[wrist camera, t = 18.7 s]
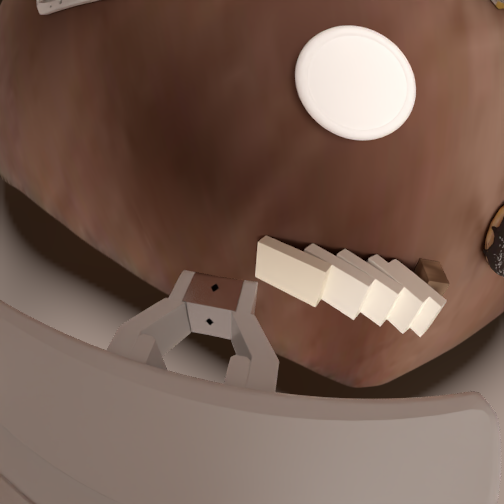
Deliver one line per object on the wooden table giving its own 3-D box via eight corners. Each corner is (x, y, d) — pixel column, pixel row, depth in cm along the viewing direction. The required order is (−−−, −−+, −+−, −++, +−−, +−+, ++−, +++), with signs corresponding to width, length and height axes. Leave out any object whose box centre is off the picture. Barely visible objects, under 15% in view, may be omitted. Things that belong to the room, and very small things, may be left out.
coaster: (422, 107, 19) (437, 112, 16) (336, 151, 24) (340, 162, 21) (364, 15, 15) (372, 6, 12) (273, 64, 20) (268, 62, 17)
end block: (401, 294, 31) (407, 317, 28) (420, 258, 28) (429, 280, 25) (420, 297, 31) (427, 319, 28) (439, 262, 28) (449, 283, 24)
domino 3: (326, 287, 32) (380, 326, 27) (337, 253, 29) (398, 294, 24) (334, 281, 32) (386, 318, 28) (345, 248, 29) (404, 286, 25)
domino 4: (356, 290, 31) (402, 333, 26) (368, 257, 28) (422, 302, 23) (364, 286, 32) (409, 327, 27) (376, 253, 29) (429, 296, 24)
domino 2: (297, 283, 32) (353, 319, 28) (304, 248, 29) (368, 286, 25) (305, 277, 33) (360, 311, 29) (312, 243, 30) (375, 278, 26)
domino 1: (255, 276, 32) (315, 307, 29) (257, 241, 29) (325, 272, 26) (262, 269, 34) (321, 298, 30) (266, 235, 31) (331, 264, 27)
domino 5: (374, 294, 31) (420, 337, 25) (388, 262, 28) (441, 306, 22) (381, 290, 31) (426, 330, 26) (395, 258, 28) (446, 300, 23)
